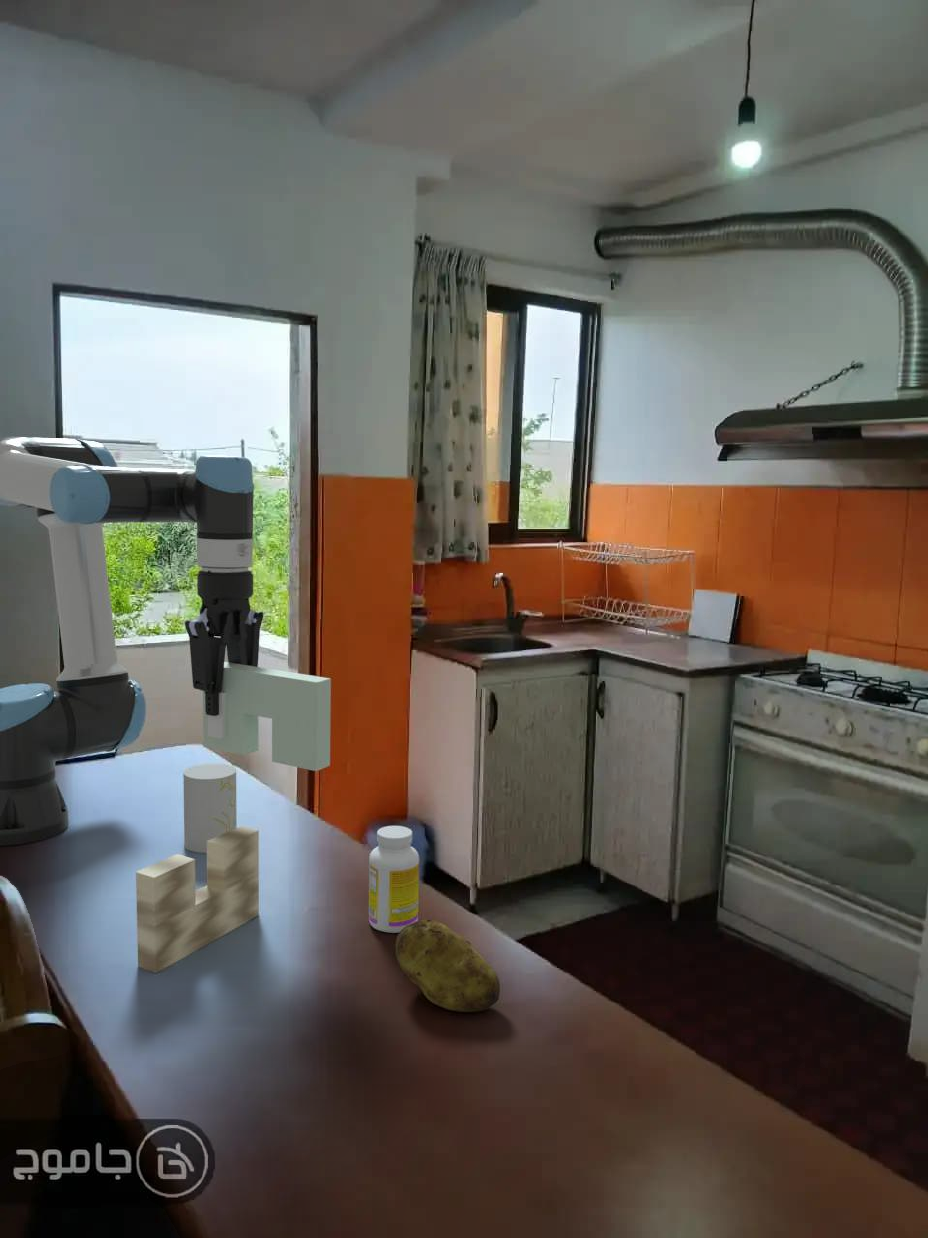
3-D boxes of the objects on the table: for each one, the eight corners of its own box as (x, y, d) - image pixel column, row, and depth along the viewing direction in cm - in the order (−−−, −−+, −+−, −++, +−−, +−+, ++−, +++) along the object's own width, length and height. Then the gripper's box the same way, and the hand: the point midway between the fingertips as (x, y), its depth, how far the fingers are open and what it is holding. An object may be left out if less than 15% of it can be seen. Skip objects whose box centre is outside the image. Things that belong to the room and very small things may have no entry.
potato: (449, 1036, 101) (451, 966, 99) (383, 984, 111) (384, 920, 109) (508, 1011, 106) (510, 944, 104) (440, 963, 116) (442, 902, 114)
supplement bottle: (426, 918, 127) (429, 828, 125) (403, 939, 121) (405, 845, 119) (383, 908, 130) (385, 819, 128) (358, 927, 124) (360, 835, 122)
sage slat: (203, 746, 133) (202, 664, 131) (218, 741, 136) (217, 660, 134) (316, 771, 124) (316, 682, 122) (329, 765, 126) (330, 678, 125)
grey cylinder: (228, 853, 147) (228, 780, 145) (177, 851, 147) (176, 778, 145) (242, 834, 155) (241, 764, 153) (193, 832, 155) (192, 762, 153)
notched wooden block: (155, 973, 111) (153, 877, 109) (138, 966, 113) (135, 872, 111) (258, 915, 127) (258, 830, 125) (242, 909, 128) (241, 825, 126)
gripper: (203, 575, 120) (205, 751, 124) (284, 567, 134) (283, 725, 138) (161, 571, 124) (164, 742, 127) (244, 563, 138) (244, 718, 141)
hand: (226, 733), depth 133 cm, fingers closed on sage slat, 3 cm apart
